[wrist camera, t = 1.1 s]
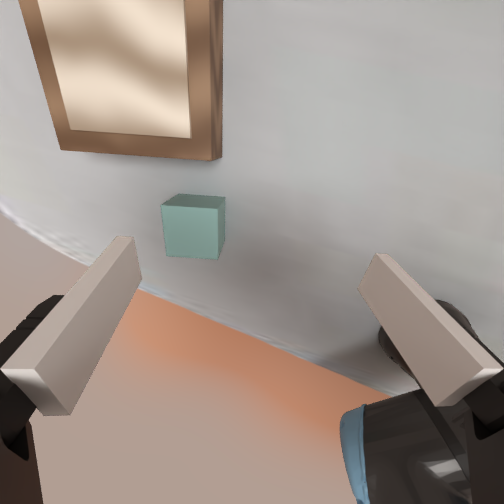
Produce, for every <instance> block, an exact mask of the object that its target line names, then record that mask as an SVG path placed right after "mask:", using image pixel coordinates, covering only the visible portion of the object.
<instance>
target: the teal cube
mask: <svg viewBox="0 0 504 504" xmlns="http://www.w3.org/2000/svg"><path fill="white" fill-rule="evenodd" d="M161 213H162V222H163V231H164V239H165V248H166V256H172V257H187V258H201V259H216V260H218V258H219V255H220V252H221V249H222V247H223V244H224V241H225V197H217V196H203V195H189V194H178V195H176V196H174V197H173V198H171V199H170V200H168V201H166V202H165V203H163V204H161Z"/></svg>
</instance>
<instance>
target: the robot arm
mask: <svg viewBox="0 0 504 504" xmlns="http://www.w3.org/2000/svg"><path fill="white" fill-rule="evenodd" d="M141 280H142V277H141V272H140V267H139V262H138V257H137V252H136V247H135V242H134V237H124V236H117V237H116V238H115V239H114V240H113V241H112V243H111V244H110V245H109V246H108V247H107V248H106V249H105V250H104V252H103V253H102V254H101V255H100V256H99V257H98V258H97V260H96V261H95V262H94V263H93V264H92V265H91V266H90V267H89V269H88V270H87V271H86V272H85V273H84V274H83V276H82V277H81V278H80V279H79V280H78V281H77V282H76V283H75V284H74V286H73V287H72V288H71V289H70V290H69V291H68V292H67V294H66V295H53V296H52V297H50V298H48V299H47V300H45V301H44V302H42V303H40V304H39V305H38V306H37V307H36V308H35V309H34V310H33V311H32V312H31V313H30V314H29V315H28V316H27V317H26V319H25V320H23V321H22V322H21V323H20V324H19V325H18V326H17V327H16V330H13V331H12V332H11V333H10V334H9V335H8V336H7V337H6V339H4V340H3V342H1V343H0V504H43V498H42V492H41V485H40V479H39V472H38V466H37V459H36V453H35V446H34V440H33V434H32V426H31V424H30V422H29V418H30V417H31V415H32V414H33V412H34V411H35V409H36V408H37V409H38V410H39V411H40V412H41V413H42V414H43V416H59V415H60V416H61V415H70V414H71V413H72V411H73V409H74V407H75V405H76V403H77V401H78V399H79V398H80V396H81V394H82V392H83V390H84V388H85V386H86V384H87V383H88V381H89V379H90V377H91V375H92V373H93V371H94V369H95V367H96V365H97V364H98V362H99V360H100V358H101V356H102V354H103V352H104V350H105V348H106V346H107V344H108V343H109V341H110V338H111V337H112V335H113V333H114V331H115V329H116V327H117V325H118V324H119V321H120V320H121V318H122V316H123V314H124V312H125V310H126V308H127V307H128V305H129V303H130V301H131V299H132V297H133V295H134V293H135V291H136V289H137V288H138V286H139V284H140V282H141ZM357 289H358V291H359V292H360V294H361V295H362V297H363V298H364V300H365V301H366V303H367V304H368V306H369V307H370V309H371V310H372V312H373V313H374V315H375V316H376V318H377V319H378V321H379V322H380V324H381V325H382V327H381V330H380V333H379V341H380V344H381V346H382V348H383V349H384V351H385V352H386V354H387V355H388V357H389V358H390V359H391V360H393V361H394V362H395V363H397V364H398V365H399V366H400V367H401V368H402V369H403V370H404V371H405V372H406V373H408V374H409V375H410V376H411V377H412V378H413V379H414V380H415V381H416V382H417V384H418V385H419V387H420V388H421V389H419V390H415V391H412V392H408V393H405V394H402V395H398V396H395V397H392V398H389V399H385V400H382V401H379V402H375V403H372V404H369V405H366V404H363V405H362V406H361V407H359V408H356V409H353V410H351V411H348V412H346V413H345V414H344V415H343V416H342V418H341V421H340V439H341V447H342V452H343V458H344V462H345V466H346V471H347V474H348V478H349V481H350V485H351V488H352V491H353V494H354V496H355V497H356V500H357V504H504V363H503V362H502V361H501V360H500V359H499V358H498V357H496V356H495V355H494V354H493V353H492V352H491V351H490V350H489V349H488V348H487V347H486V346H485V345H484V344H483V343H482V342H481V341H480V339H479V338H478V336H477V335H476V333H475V332H474V330H473V329H472V327H471V324H470V323H469V321H468V319H467V318H466V317H465V315H464V314H462V313H461V312H460V311H459V310H458V309H456V308H455V307H454V306H453V305H451V304H449V303H447V302H443V301H438V300H434V299H433V298H432V297H431V296H430V295H429V294H428V293H427V292H426V291H425V290H424V289H423V288H422V287H421V286H420V285H419V284H418V283H417V282H416V281H415V280H414V279H413V278H412V277H411V276H410V275H409V274H408V273H407V272H405V271H404V270H403V269H402V268H401V267H400V266H399V265H398V264H397V263H396V262H395V261H394V260H393V259H392V258H391V257H390V256H389V255H388V254H378V253H376V254H375V256H374V257H373V259H372V261H371V263H370V265H369V267H368V269H367V271H366V273H365V275H364V277H363V279H362V281H361V283H360V285H359V287H358V288H357Z"/></svg>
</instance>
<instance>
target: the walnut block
mask: <svg viewBox="0 0 504 504" xmlns="http://www.w3.org/2000/svg"><path fill="white" fill-rule="evenodd" d="M18 1H19V4H20V8H21V11H22V15H23V18H24V22H25V25H26V29H27V32H28V36H29V39H30V43H31V47H32V50H33V54H34V57H35V61H36V64H37V68H38V71H39V75H40V78H41V82H42V85H43V89H44V92H45V96H46V99H47V103H48V107H49V110H50V114H51V117H52V121H53V124H54V128H55V131H56V135H57V138H58V142H59V145H60V149H61V150H67V151H81V152H95V153H109V154H123V155H137V156H151V157H165V158H179V159H194V160H208V161H212V160H215V159H218V158H221V157H222V95H223V0H18Z"/></svg>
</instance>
